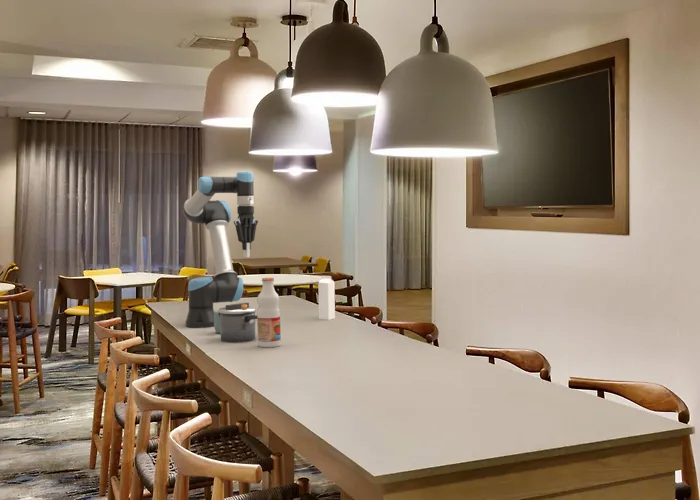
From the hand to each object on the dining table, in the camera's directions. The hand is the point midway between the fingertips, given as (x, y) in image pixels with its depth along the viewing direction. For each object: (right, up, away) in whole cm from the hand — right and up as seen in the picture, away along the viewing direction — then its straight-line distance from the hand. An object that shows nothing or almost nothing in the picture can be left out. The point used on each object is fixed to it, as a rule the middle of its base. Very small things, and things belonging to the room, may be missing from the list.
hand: (246, 256), depth 352 cm
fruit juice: (+14, -37, -35) cm, 53 cm away
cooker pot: (-1, -36, -19) cm, 40 cm away
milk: (+36, -32, +37) cm, 61 cm away
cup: (-11, -35, -2) cm, 37 cm away
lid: (-1, -23, -20) cm, 31 cm away
